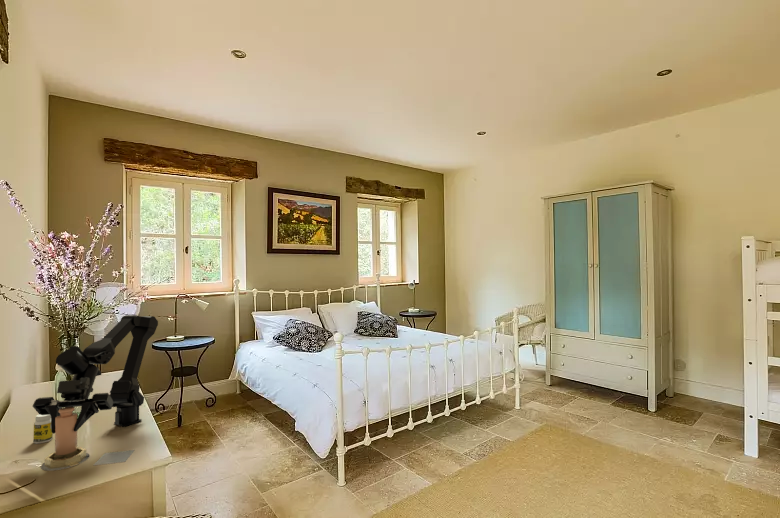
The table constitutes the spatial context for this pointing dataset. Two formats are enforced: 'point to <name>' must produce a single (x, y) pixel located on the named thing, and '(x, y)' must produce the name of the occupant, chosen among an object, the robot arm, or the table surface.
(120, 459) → the tile
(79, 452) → the holder
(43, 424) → the supplement bottle
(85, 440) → the table surface
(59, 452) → the vase
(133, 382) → the robot arm
